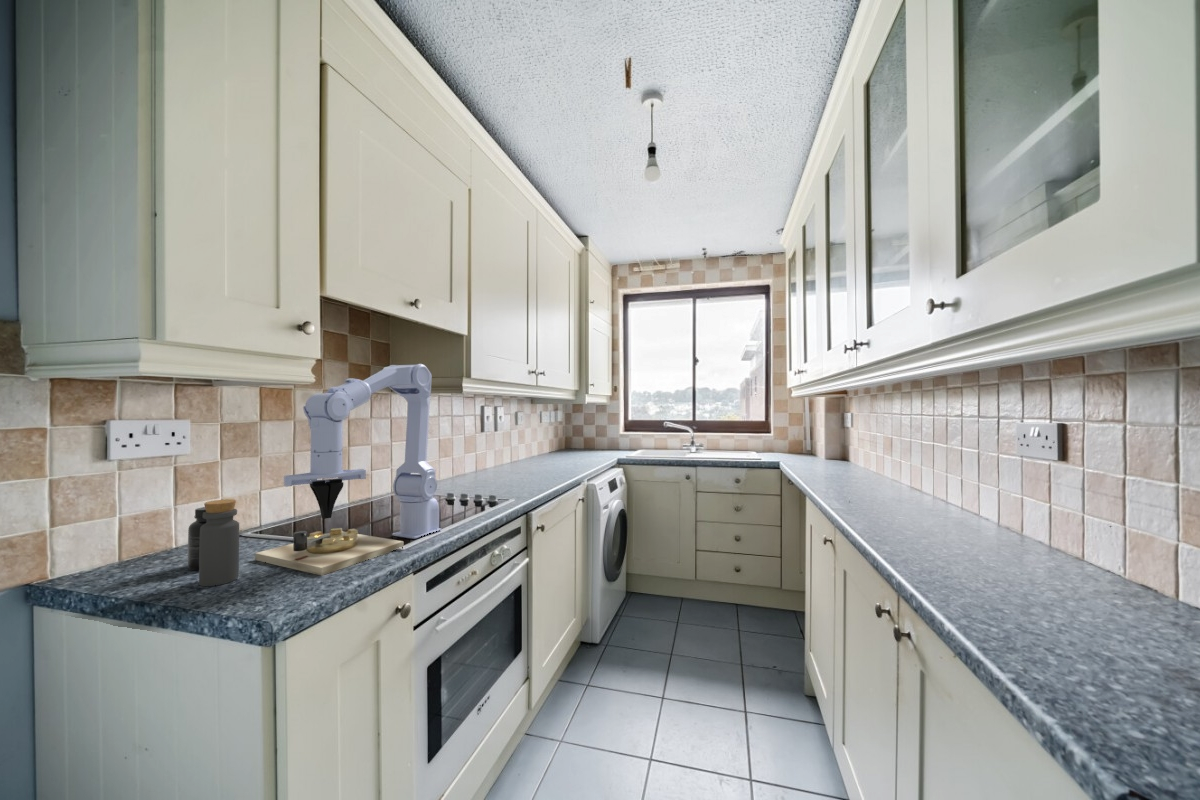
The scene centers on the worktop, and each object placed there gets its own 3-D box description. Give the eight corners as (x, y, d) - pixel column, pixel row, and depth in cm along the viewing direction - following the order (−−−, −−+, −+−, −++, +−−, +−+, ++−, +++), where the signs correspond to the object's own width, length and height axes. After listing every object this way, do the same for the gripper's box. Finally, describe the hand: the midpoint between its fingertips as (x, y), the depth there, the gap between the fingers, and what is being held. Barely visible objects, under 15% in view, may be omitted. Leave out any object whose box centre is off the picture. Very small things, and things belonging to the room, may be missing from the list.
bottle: (205, 578, 90) (206, 500, 90) (242, 573, 93) (243, 497, 93) (193, 588, 85) (195, 505, 85) (233, 583, 87) (234, 503, 88)
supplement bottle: (235, 563, 98) (236, 506, 99) (194, 573, 93) (195, 512, 93) (222, 558, 102) (223, 503, 102) (182, 566, 96) (183, 508, 97)
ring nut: (367, 541, 109) (367, 517, 109) (316, 562, 94) (317, 535, 94) (329, 539, 111) (329, 516, 111) (274, 559, 96) (274, 532, 96)
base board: (340, 536, 119) (340, 530, 119) (403, 547, 109) (403, 540, 110) (254, 560, 101) (255, 552, 101) (321, 575, 91) (321, 566, 91)
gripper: (359, 447, 104) (358, 509, 104) (281, 452, 94) (280, 519, 94) (369, 449, 99) (368, 514, 98) (287, 454, 89) (287, 526, 89)
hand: (326, 517), depth 96 cm, fingers closed
